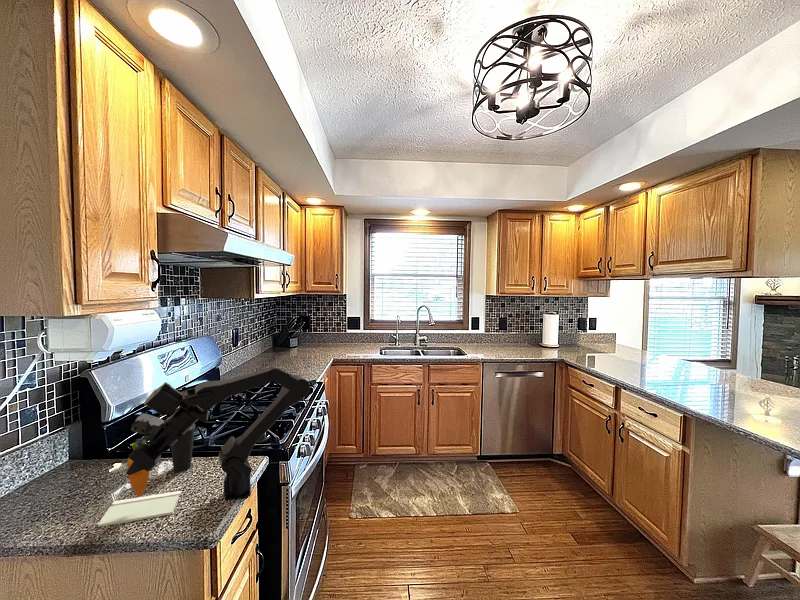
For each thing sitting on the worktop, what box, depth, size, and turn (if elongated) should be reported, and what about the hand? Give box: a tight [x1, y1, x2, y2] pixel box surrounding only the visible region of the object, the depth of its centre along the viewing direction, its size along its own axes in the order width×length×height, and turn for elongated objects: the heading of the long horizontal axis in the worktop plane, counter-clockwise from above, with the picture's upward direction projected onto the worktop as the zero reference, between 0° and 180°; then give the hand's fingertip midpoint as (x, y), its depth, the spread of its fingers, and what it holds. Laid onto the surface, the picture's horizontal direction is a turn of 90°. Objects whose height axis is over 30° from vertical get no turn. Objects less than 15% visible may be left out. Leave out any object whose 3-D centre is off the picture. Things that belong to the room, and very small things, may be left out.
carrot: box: [126, 439, 150, 498], centre depth 97 cm, size 5×5×15 cm
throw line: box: [111, 490, 182, 506], centre depth 103 cm, size 16×2×1 cm, turn 110°
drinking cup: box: [170, 423, 196, 473], centre depth 119 cm, size 8×8×20 cm
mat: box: [97, 495, 180, 528], centre depth 97 cm, size 16×8×1 cm, turn 110°
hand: (133, 468), depth 96 cm, fingers closed on carrot, 5 cm apart
